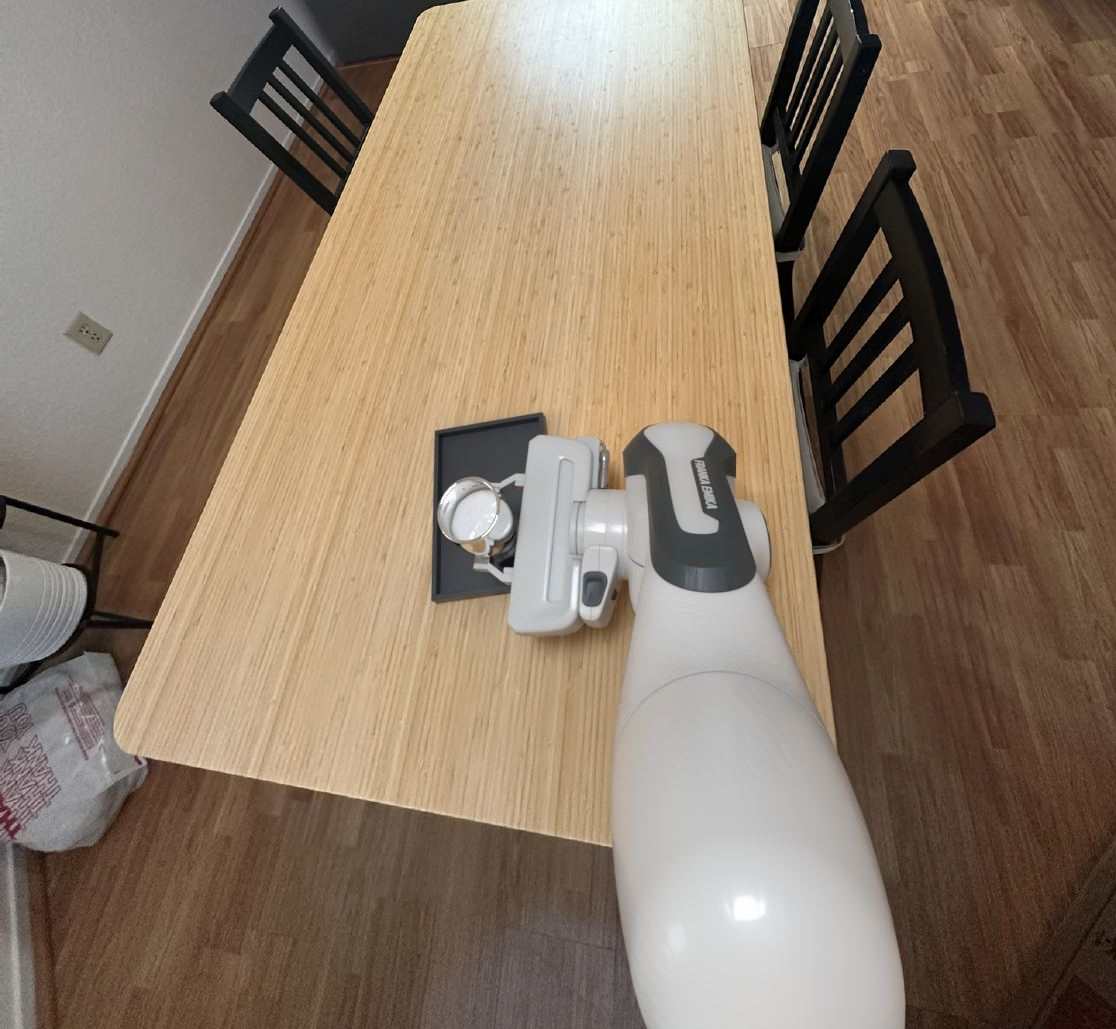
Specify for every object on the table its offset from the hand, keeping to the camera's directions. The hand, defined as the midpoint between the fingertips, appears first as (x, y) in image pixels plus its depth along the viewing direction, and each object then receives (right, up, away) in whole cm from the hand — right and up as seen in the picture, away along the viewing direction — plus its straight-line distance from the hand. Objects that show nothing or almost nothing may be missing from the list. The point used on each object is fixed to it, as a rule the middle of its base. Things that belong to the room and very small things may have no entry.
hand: (481, 526), depth 69 cm
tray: (0, -2, +12) cm, 12 cm away
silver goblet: (+2, -4, +6) cm, 8 cm away
